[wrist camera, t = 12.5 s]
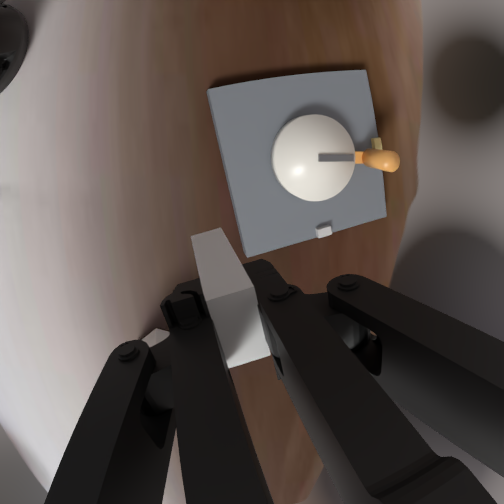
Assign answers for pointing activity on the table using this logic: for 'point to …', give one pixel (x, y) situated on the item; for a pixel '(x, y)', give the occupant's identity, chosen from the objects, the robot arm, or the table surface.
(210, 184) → the table surface
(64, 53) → the table surface
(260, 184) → the panel
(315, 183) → the dial
